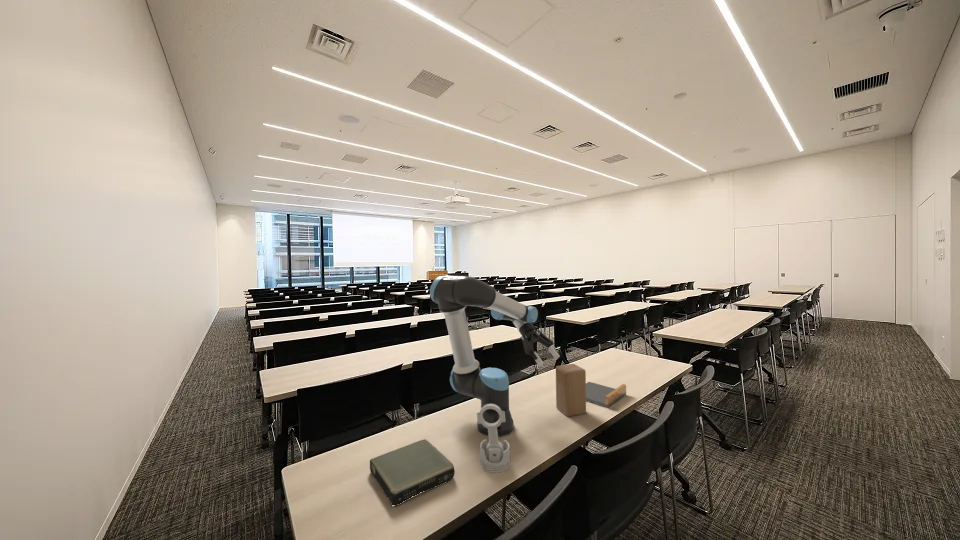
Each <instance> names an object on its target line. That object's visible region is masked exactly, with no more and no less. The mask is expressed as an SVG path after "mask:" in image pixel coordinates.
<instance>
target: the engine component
mask: <svg viewBox="0 0 960 540" xmlns="http://www.w3.org/2000/svg"><path fill="white" fill-rule="evenodd" d="M487 409H494V410H496V411H497V412H498V414H499V416H500V418H499V420H498V421H497V422H495V423H488V422H486V421H485V420H484V418H483V412H484V411H485V410H487ZM476 418H477V421H478V424H482V425H483V426H484V427H486V428H488V436H487V437H488V439H486V438H485V439H483V440H482V441H480V443H479V446H480V447H479V448H480V450H479V452H480V453H479V454H480V455H479V456H480V467H481V468H482V469H483V470H484V471H486V472H488V471H489V473H492V472H499V473H503V472H505V471H507V470H508V469H509V468H510V466H509V465H510V464H511V461H510V460H511V459H510V458H511V455H510V453H511V452H510V443H509V442H508V441H507V440H506V439H504V440H503V443H502V442H501V441H499V437H498V433H497V427H498V426H500V424H501V423H502V422H505V412H504V411H502V410H501V409H500V407H498V406H497V405H495V404H486V405H484V406H483V407H482V408H481V407H480V410H479V412H477V413H476ZM507 468H508V469H507ZM502 471H503V472H502Z"/></svg>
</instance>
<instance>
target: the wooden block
mask: <svg viewBox="0 0 960 540" xmlns="http://www.w3.org/2000/svg"><path fill="white" fill-rule="evenodd" d="M586 375H587V373H586V369H584V368H582V367H580V366H579V365H577V364H575V363H568V364H562V365H561V364H560V365H556V366H555V402H556V405H555V406H556V408H557V409H558V410H559V411H560V412H561V413H562V414H563V415H565V416H566V417H572V416H578V415H583V414H587V413H586V412H587V401H586V383H587V381H586Z"/></svg>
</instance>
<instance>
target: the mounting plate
mask: <svg viewBox="0 0 960 540" xmlns="http://www.w3.org/2000/svg"><path fill="white" fill-rule="evenodd" d="M625 396H627V384H624V383H622V384H621V385H619V386H618V387H617V388H614V387H611V386H606V385H602V384H599V383H595V382H591V381H588V382H587V381H586V402H588V403H592V404H595V405H598V406H601V407H603V408H607V409H608V408H610V407H612V406H613V405H614V404H616V403H617V402H618V401H620V400H621V399H622V398H624V397H625Z"/></svg>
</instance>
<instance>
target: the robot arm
mask: <svg viewBox="0 0 960 540" xmlns="http://www.w3.org/2000/svg"><path fill="white" fill-rule="evenodd" d="M429 289H430V290H429V296H430V299H431V300H432V302H434V303H435V304H437V305H438V309H439V312H440V313H441V314H443V315H444V319H445V325H446V328H447V331H448V332H447V333H448V336H449V337H448V338H449V342H450V346H451V350H452V355H453V356H452V357H453V360H454V365H453V367H452V370H451V372H450V376H449V382H450V386H451V388H452V390H453V391H454V392H456V393H458V394H460V395H463V396H468V397H470V398H474V399H478V400H480V409H481V408H482V407H483V406H484V405H486V404H495V405H497V406H498V407H500V409H501V410H502V411H504V412H505V422H502V423H501V424H500V426H498V427H497V433H498V438H499V437H504V436H507V435H509V434H511V433H512V432H513V431H514V428H515V424H514V419H513V417H512V414H511V411H510V389H509V388H510V383H509V376H508V374H507V372H505V370H502V369H500V368H497V367H486V368H482V369H481V367H480V362H479V361H478V360H477V359H475V354H474V349H473V345H472V340H471V334H470V330H469V325H468V320H467V314H466V310H465V309H466V308H467V307H478V308H480V309H490V315H491V317H492V318H493V319H495V320H496V321H497V320H498V321H501V320H505V321H511V322H512V324H513V325H514V326H515V328H516V329H517V330H518V333H519V334H520V335H521V336H520V337H519V338H520V340H521V342H522V345H523V349H524V353H525V354H526V355H528V356H529V357H530V356H531V357H532V359H533V360H534V361H535V363H536V364H537V365H538V367H542V366H543V365H544V361H543V360H542V358H541V357H540V356H539V354H538V352H537V351H534V348H535V347H534V343H535V342H536V343H539V344H541V345H543V346H545V347H547V350H548V351H549V353H550V354H551V356H552V357H553V358H554V359H555V360H558V359H559V358H560V356H561V355H560V354H559V353H558V352H557V350H556V349H555V347H554V346H553V345H554V341H553V340H552V339H550V338H549V337H548V336H547V335H545V334H544V333H542V331H541V330H539V329H538V330H535V326H534V324H533V323H535V322H537V319H538V316H539V311H538V309H537V308H536V307H535V306H532V305H525V304H524V303H521V302H519V301H517V300H515V299H513V298H511V297H508V296H506V295H505V294H503V293H500V292H499V291H497V290H496V289H495V287H494V286H492V285H490V284H489V283H486V282H484V281H482V280H481V279H480V280H479V279H477V278H475V277H471V276H467V275H448V274H447V275H440V276H438V277H436V278H435V279H434V280H433V281H432V284H431V285H430V288H429ZM483 418H484V420H485V421H486V422H488V423H495V422H497V421H498V420H499V418H500V416H499V414H498V412H497V411H496V410H494V409H487V410H485V411H484V412H483ZM476 425H477V426H476V427H477V428H476V429H477V430H478V432H479V433H481V434H482V435H484V436H487V437H489V436H488V428H486V427H484V426H483V425H482V424H478V420H477V422H476Z"/></svg>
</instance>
